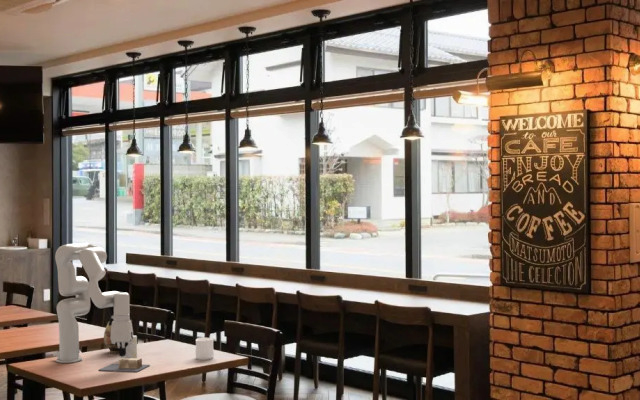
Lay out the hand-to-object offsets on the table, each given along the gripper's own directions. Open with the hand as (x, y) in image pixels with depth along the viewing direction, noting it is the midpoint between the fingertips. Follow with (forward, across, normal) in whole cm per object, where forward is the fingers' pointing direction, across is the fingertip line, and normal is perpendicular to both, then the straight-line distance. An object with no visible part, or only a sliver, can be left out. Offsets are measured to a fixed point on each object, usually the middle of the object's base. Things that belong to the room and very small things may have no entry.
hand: (122, 355), depth 381 cm
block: (+4, -1, 0) cm, 4 cm away
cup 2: (+6, +31, +29) cm, 43 cm away
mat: (+6, +1, 0) cm, 6 cm away
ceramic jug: (+6, -22, +38) cm, 44 cm away
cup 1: (+6, -6, +19) cm, 21 cm away
